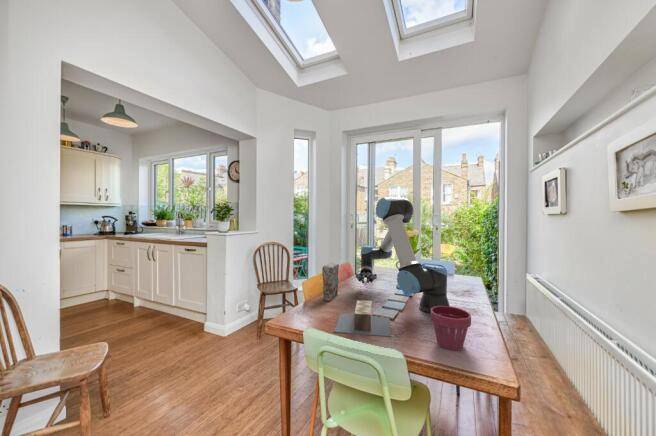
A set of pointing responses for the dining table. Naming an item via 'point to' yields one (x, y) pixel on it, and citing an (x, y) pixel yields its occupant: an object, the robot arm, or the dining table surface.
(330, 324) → the dining table surface
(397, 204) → the robot arm
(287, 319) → the dining table surface
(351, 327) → the slate mat
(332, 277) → the stone block
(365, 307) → the birch block
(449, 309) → the plant pot
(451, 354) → the dining table surface
